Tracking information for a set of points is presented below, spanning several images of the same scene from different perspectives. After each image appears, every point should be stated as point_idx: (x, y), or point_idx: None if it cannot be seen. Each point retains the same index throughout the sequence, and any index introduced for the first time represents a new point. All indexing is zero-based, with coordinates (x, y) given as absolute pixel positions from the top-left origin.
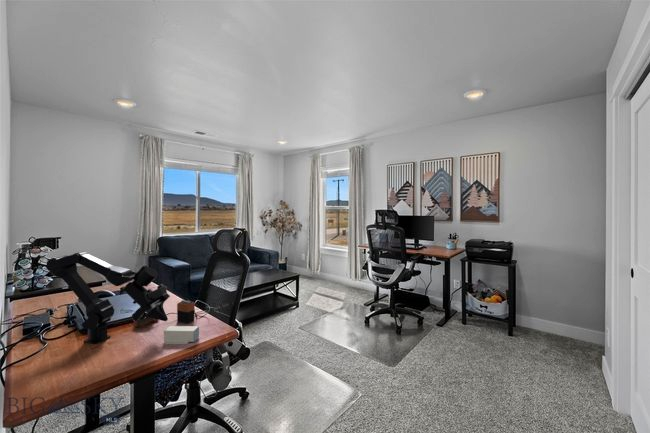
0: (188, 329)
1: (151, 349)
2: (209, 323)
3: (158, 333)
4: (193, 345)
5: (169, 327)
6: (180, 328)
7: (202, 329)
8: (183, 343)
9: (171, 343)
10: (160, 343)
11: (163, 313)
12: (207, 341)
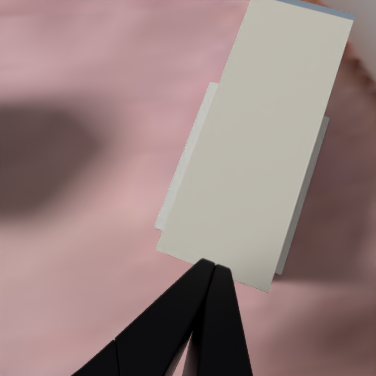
0: (304, 64)
1: (348, 359)
2: (23, 8)
3: (56, 346)
4: (357, 78)
5: (194, 244)
6: (257, 136)
7: (110, 43)
8: (321, 140)
9: (296, 222)
10: (257, 304)
11: (174, 355)
12: (318, 3)
